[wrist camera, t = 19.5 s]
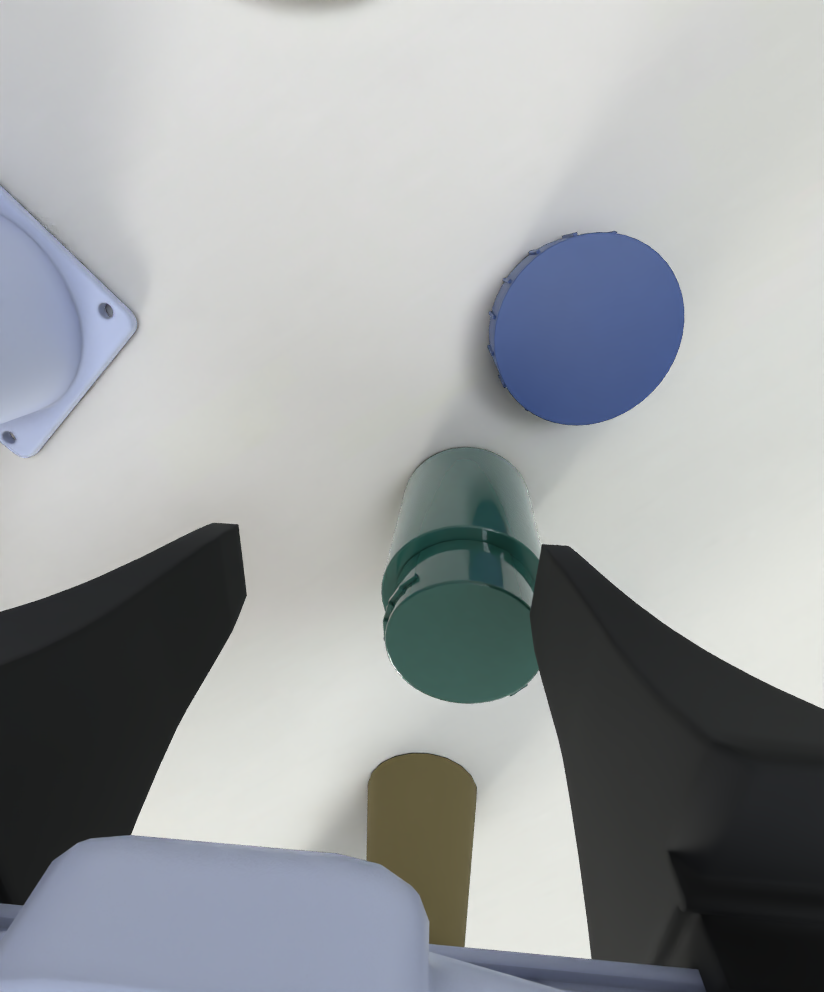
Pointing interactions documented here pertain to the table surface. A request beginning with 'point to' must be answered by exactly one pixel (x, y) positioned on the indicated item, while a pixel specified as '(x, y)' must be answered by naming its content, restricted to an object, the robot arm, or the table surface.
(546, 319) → the lid
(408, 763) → the cork
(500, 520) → the jar
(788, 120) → the table surface
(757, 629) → the table surface
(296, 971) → the robot arm
